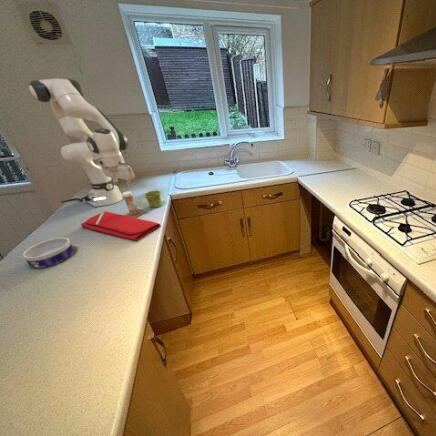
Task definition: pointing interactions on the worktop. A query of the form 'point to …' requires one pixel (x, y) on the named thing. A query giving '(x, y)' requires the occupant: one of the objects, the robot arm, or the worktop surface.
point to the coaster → (135, 214)
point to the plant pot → (153, 198)
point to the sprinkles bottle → (130, 203)
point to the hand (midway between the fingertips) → (123, 185)
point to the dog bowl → (49, 253)
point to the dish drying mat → (120, 225)
